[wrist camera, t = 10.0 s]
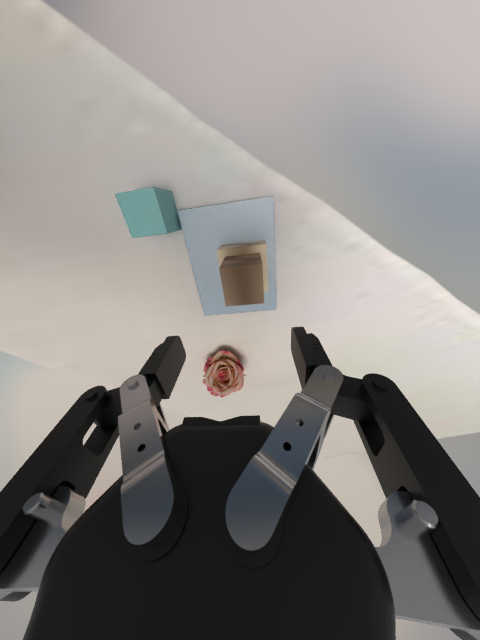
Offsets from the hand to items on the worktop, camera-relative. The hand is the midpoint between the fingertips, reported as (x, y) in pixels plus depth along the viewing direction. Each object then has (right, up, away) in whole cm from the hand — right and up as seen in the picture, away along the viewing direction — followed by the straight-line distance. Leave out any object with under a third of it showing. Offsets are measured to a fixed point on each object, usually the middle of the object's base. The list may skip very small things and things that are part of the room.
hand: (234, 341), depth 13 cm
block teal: (-12, +18, +15) cm, 26 cm away
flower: (-3, -8, +31) cm, 32 cm away
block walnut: (+1, +9, +14) cm, 17 cm away
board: (-1, +11, +19) cm, 22 cm away
